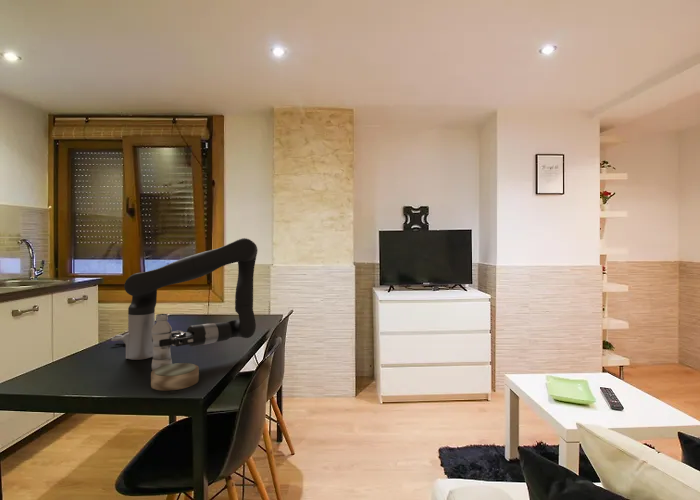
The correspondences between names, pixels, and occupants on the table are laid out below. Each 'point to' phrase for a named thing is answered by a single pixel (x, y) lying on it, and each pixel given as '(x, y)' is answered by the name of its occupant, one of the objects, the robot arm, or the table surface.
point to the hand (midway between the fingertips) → (155, 341)
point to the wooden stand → (174, 376)
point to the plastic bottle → (159, 333)
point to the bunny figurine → (119, 338)
